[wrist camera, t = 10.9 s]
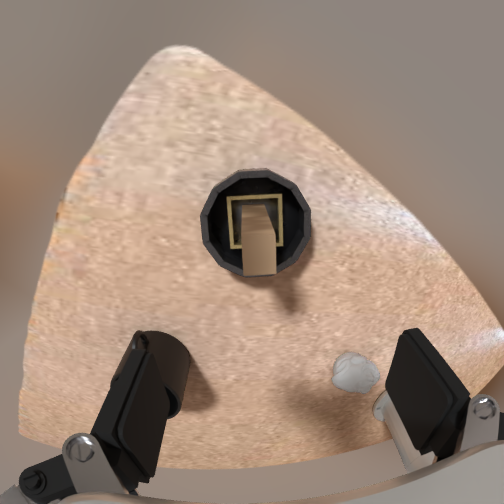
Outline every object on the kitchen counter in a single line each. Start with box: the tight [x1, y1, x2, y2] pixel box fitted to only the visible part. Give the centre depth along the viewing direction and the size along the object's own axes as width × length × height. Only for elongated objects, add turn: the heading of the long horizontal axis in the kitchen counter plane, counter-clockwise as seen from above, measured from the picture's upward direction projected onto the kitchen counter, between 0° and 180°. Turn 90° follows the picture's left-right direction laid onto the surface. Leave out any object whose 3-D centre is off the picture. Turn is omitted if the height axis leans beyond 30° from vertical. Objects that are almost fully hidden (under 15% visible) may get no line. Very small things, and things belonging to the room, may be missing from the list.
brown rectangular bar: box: [241, 204, 276, 276], centre depth 26 cm, size 2×3×12 cm
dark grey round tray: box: [200, 168, 311, 277], centre depth 31 cm, size 11×11×4 cm
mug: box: [110, 330, 190, 419], centre depth 34 cm, size 9×12×9 cm
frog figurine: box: [332, 352, 380, 394], centre depth 37 cm, size 6×7×7 cm
